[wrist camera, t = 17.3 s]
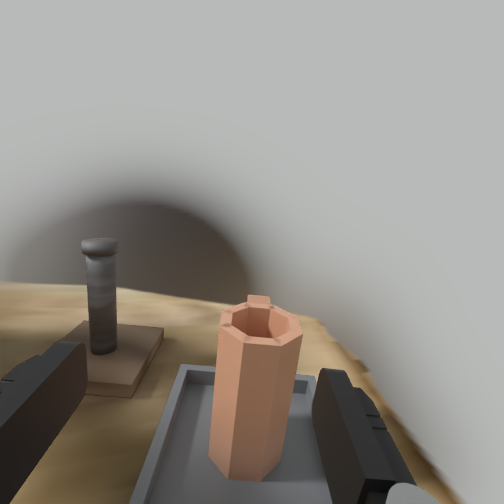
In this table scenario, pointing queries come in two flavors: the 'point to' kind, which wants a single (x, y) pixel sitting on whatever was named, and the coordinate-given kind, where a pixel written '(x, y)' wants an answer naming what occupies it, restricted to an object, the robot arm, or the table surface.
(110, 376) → the stake stand
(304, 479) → the tray
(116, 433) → the table surface
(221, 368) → the sleeve
